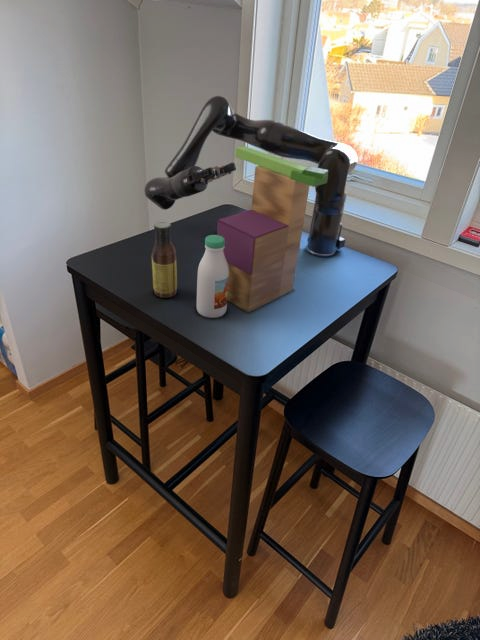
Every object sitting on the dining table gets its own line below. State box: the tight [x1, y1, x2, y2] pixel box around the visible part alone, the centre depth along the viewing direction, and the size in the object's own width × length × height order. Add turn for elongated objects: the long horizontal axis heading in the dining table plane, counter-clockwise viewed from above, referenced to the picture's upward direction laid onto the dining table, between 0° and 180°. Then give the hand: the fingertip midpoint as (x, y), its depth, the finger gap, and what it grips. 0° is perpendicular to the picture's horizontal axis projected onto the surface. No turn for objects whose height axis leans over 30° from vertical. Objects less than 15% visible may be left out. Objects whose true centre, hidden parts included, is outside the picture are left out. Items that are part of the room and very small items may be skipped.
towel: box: [216, 209, 288, 275], centre depth 118 cm, size 12×12×10 cm
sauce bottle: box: [151, 220, 178, 299], centre depth 119 cm, size 6×6×20 cm
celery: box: [234, 146, 328, 188], centre depth 115 cm, size 27×6×3 cm, turn 45°
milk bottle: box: [196, 234, 229, 319], centre depth 114 cm, size 8×8×20 cm
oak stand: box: [227, 165, 311, 313], centre depth 120 cm, size 13×18×32 cm
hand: (223, 168), depth 129 cm, fingers open, 8 cm apart
